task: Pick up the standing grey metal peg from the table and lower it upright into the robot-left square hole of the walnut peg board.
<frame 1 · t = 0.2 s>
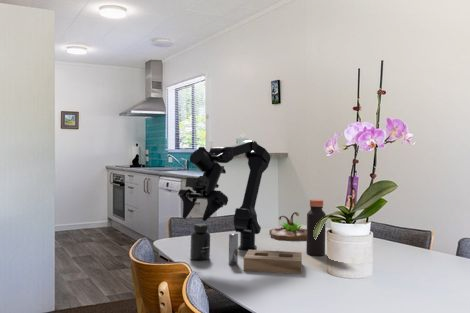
hand: (193, 219, 148), 15 cm above the table, tool tilted 30°, fingers open, 9 cm apart
supplement bottle: (200, 259, 155), on the table
peg board: (273, 267, 145), on the table
plant: (291, 237, 199), on the table
vinegar: (315, 254, 165), on the table
peg: (233, 264, 148), on the table
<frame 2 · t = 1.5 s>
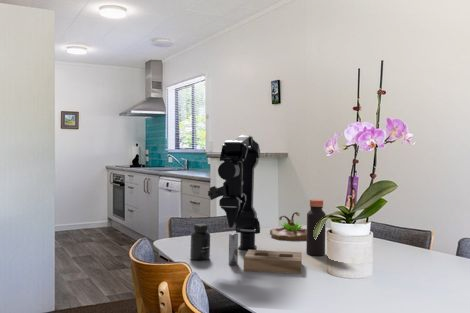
hand: (233, 225, 148), 13 cm above the table, tool pointing down, fingers open, 9 cm apart
nothing on the table moved.
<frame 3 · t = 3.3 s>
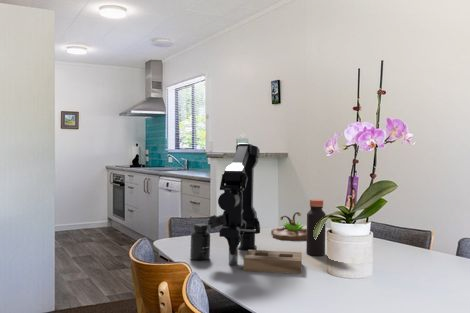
hand: (233, 253, 148), 4 cm above the table, tool pointing down, fingers closed on peg, 3 cm apart
peg: (233, 264, 148), on the table, touching gripper
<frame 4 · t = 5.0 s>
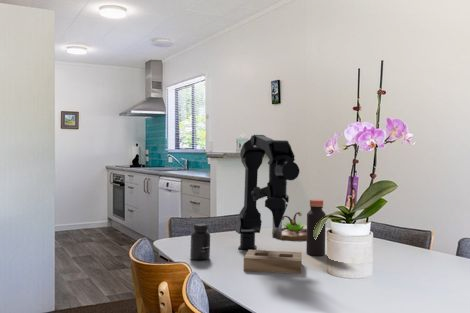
hand: (277, 226, 145), 13 cm above the table, tool pointing down, fingers closed on peg, 3 cm apart
peg: (277, 237, 145), point 10 cm above the table, touching gripper
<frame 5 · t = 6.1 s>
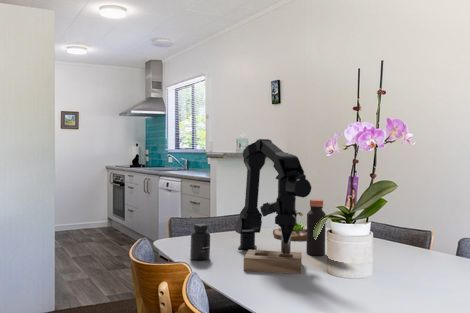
hand: (285, 242, 144), 8 cm above the table, tool pointing down, fingers closed on peg, 3 cm apart
peg: (285, 252, 144), point 5 cm above the table, touching gripper
when the fingers open (5 cm above the table, at t = 6.9 s): peg drops 1 cm, resting in peg board.
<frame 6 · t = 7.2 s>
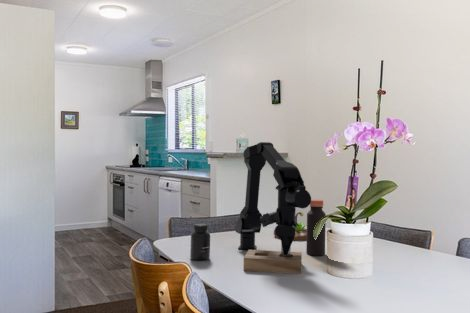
hand: (285, 252, 144), 5 cm above the table, tool pointing down, fingers open, 6 cm apart
peg: (285, 267, 145), resting in peg board
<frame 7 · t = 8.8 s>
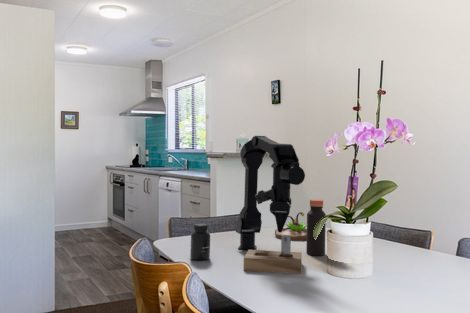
hand: (280, 229, 146), 12 cm above the table, tool pointing down, fingers open, 9 cm apart
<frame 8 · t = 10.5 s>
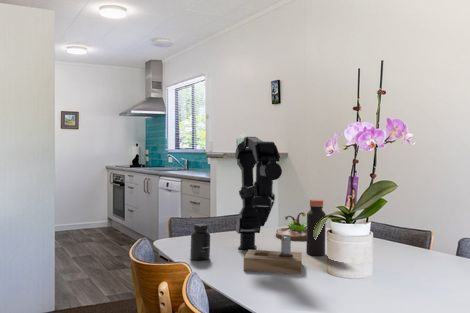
hand: (263, 224, 151), 13 cm above the table, tool pointing down, fingers open, 9 cm apart
at the end: peg 0.1 cm from the target spot on the peg board, point 0.0 cm above the peg board's base; peg tilted 0°; the gripper is holding nothing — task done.
